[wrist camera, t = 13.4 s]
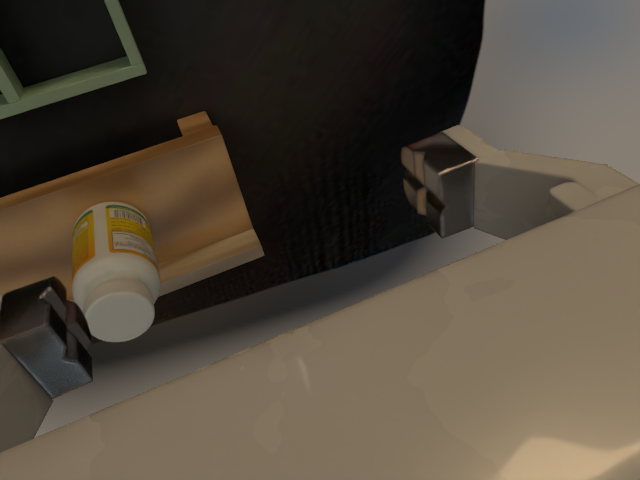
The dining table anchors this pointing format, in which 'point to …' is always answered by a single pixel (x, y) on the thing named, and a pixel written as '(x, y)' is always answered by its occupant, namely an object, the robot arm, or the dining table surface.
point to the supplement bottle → (115, 271)
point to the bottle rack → (71, 74)
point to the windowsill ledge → (149, 198)
